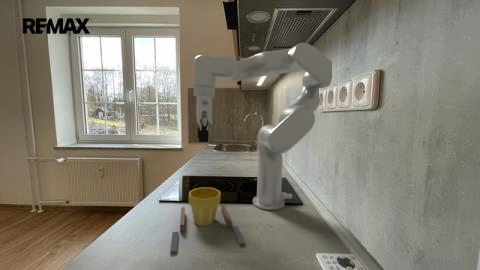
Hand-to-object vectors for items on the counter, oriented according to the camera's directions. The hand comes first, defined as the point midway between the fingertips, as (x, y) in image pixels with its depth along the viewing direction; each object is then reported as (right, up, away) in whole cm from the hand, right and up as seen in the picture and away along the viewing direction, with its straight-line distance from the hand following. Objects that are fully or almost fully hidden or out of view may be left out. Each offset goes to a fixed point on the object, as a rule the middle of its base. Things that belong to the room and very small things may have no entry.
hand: (202, 140), depth 79 cm
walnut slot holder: (+2, -27, -6) cm, 28 cm away
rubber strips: (+4, -28, -17) cm, 33 cm away
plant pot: (+2, -27, -6) cm, 28 cm away
